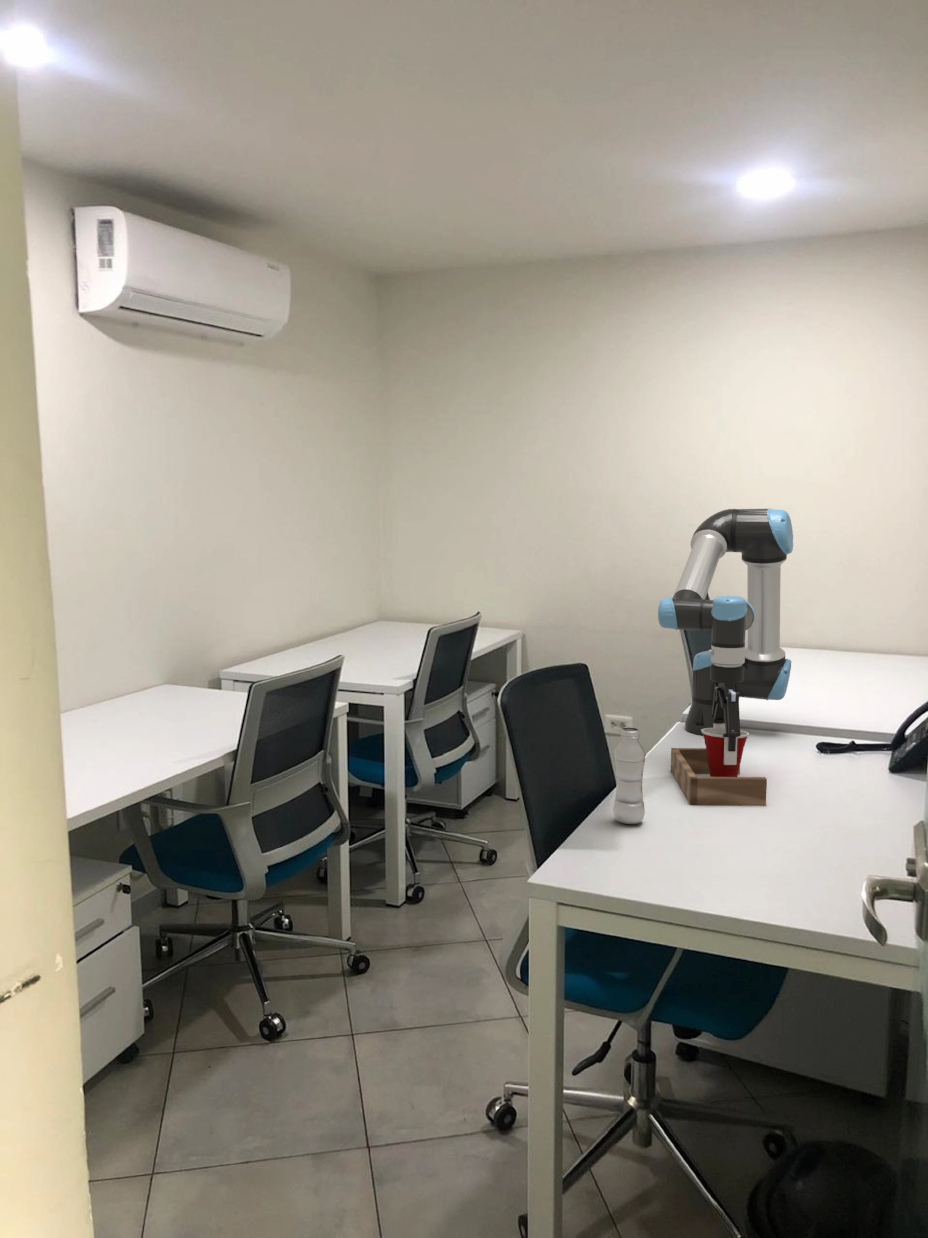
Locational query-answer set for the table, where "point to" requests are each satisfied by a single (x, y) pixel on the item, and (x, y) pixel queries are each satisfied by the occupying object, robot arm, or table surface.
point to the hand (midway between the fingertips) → (724, 757)
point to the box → (713, 782)
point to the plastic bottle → (629, 778)
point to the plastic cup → (721, 752)
